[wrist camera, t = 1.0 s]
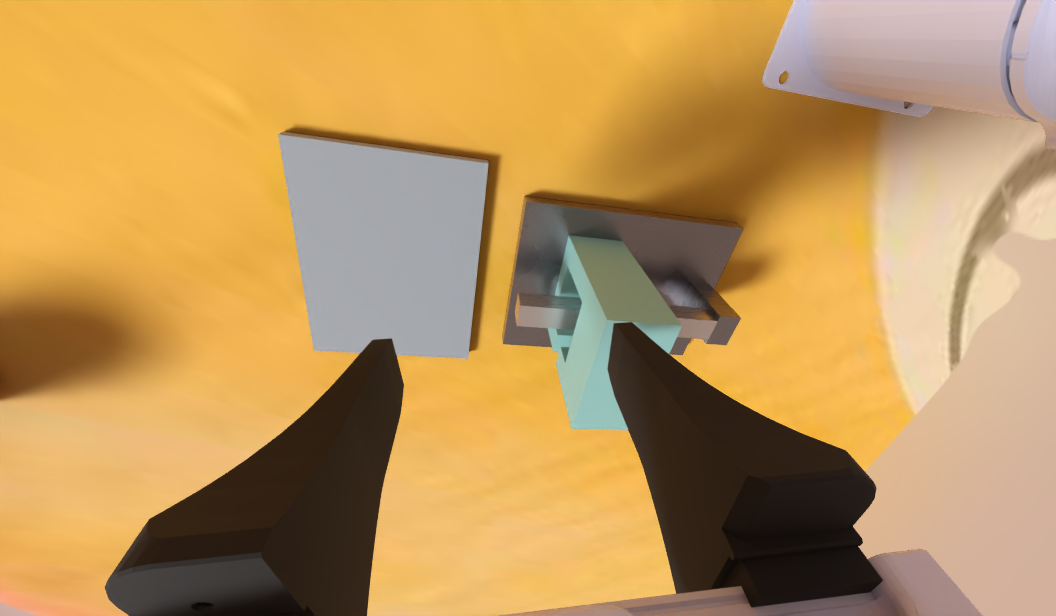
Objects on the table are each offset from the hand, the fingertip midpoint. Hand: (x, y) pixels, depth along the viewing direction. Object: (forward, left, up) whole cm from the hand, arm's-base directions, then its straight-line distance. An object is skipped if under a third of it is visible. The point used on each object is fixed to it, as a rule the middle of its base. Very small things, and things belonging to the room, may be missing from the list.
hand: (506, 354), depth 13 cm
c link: (-5, +2, -9) cm, 11 cm away
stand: (-7, +2, -10) cm, 12 cm away
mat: (+5, +2, -10) cm, 11 cm away
